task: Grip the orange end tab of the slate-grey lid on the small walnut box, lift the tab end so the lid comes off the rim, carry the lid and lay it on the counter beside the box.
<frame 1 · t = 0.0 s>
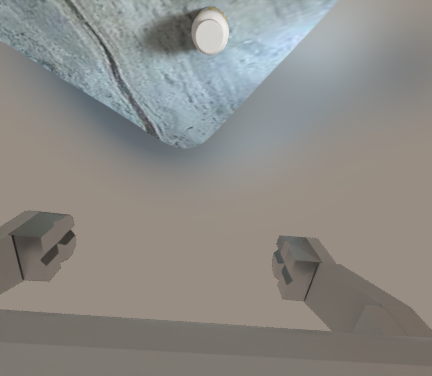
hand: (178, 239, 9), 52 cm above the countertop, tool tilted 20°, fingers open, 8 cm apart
supplement bottle: (211, 26, 48), on the countertop
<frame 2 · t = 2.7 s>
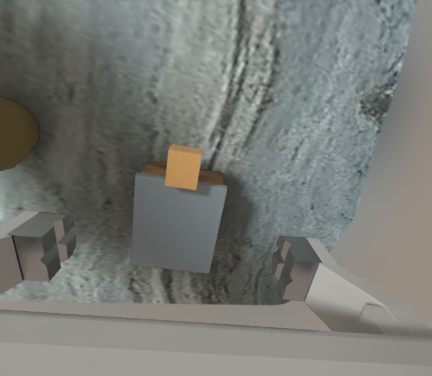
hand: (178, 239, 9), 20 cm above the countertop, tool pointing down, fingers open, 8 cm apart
squeeze bottle: (14, 126, 26), on the countertop
walnut box: (181, 205, 31), on the countertop
lid: (176, 225, 26), point 5 cm above the countertop, touching walnut box
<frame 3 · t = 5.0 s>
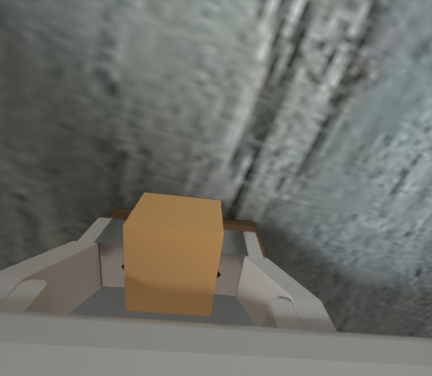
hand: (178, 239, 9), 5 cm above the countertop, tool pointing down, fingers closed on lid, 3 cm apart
walnut box: (181, 279, 17), on the countertop
lid: (170, 348, 13), point 5 cm above the countertop, touching gripper, walnut box
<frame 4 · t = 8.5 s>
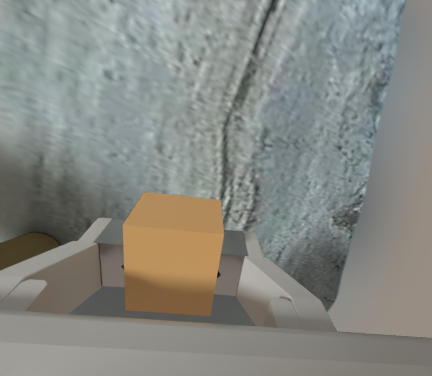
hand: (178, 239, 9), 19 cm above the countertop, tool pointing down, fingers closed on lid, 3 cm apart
squeeze bottle: (43, 248, 32), on the countertop
lid: (170, 348, 13), point 18 cm above the countertop, touching gripper
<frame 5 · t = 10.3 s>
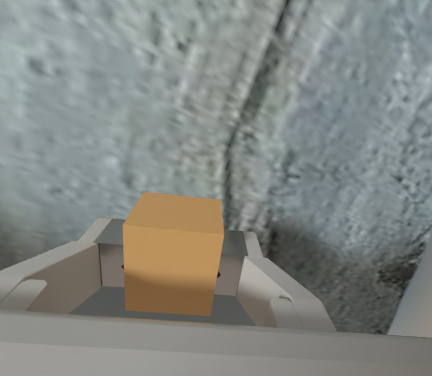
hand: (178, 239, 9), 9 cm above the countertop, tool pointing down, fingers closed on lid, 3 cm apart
lid: (170, 348, 13), point 8 cm above the countertop, touching gripper
when the fingers open (2 cm above the countertop, at t = 11.9 s): lid stays where it is, point 1 cm above the countertop.
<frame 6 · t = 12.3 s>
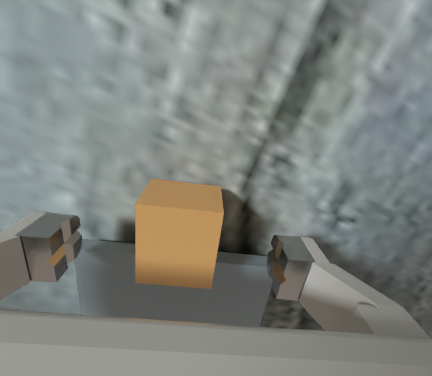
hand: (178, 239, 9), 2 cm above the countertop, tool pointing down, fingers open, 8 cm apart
lid: (173, 327, 14), point 1 cm above the countertop
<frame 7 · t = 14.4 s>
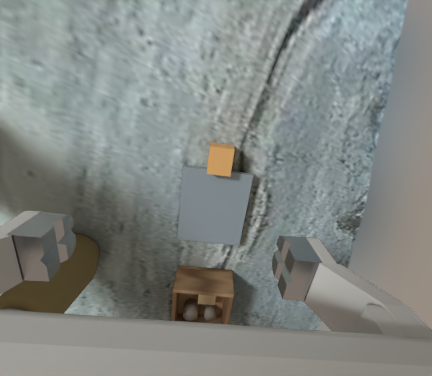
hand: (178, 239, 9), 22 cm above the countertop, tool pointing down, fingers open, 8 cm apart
squeeze bottle: (82, 247, 37), on the countertop
walnut box: (202, 292, 40), on the countertop
lid: (213, 206, 33), point 1 cm above the countertop
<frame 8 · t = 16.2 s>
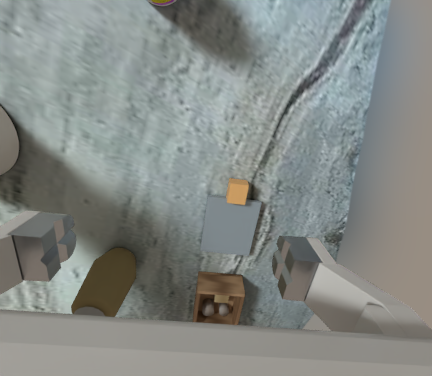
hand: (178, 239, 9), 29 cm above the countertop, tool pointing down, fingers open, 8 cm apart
squeeze bottle: (121, 258, 46), on the countertop
walnut box: (216, 292, 50), on the countertop
lid: (229, 225, 42), on the countertop
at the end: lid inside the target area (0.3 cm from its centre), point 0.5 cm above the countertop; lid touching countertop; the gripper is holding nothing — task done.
